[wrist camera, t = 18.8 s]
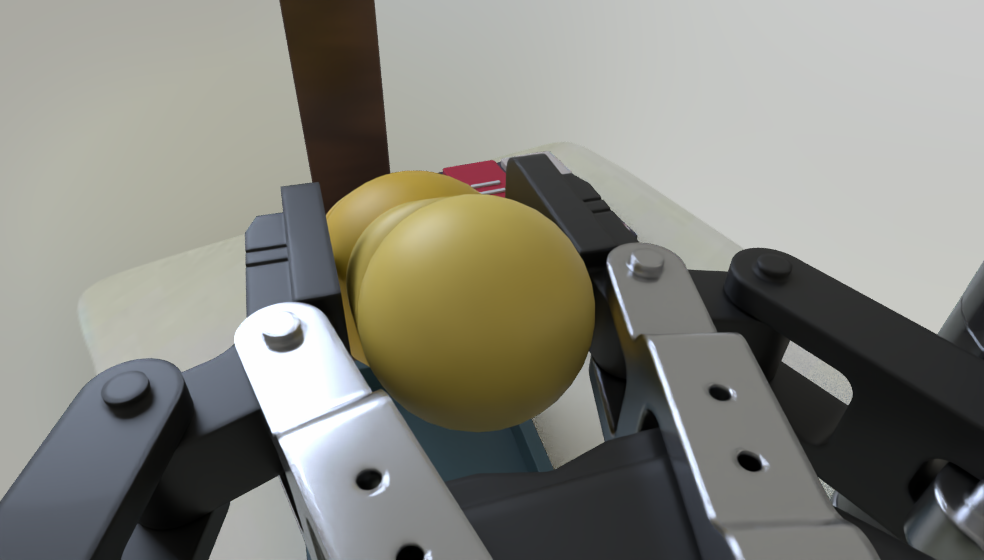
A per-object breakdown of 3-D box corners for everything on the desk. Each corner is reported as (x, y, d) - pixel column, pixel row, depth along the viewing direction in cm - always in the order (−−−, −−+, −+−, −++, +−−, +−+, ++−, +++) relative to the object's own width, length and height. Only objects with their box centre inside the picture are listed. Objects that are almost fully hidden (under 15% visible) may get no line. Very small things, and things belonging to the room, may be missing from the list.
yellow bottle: (323, 314, 26) (307, 194, 25) (440, 298, 27) (428, 183, 26) (331, 568, 7) (271, 145, 7) (698, 482, 8) (677, 115, 8)
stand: (424, 287, 47) (385, -340, 26) (463, 398, 39) (453, -385, 18) (298, 310, 45) (144, -356, 24) (312, 433, 36) (97, -414, 16)
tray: (492, 361, 41) (492, 332, 40) (694, 837, 23) (711, 820, 21) (298, 402, 38) (290, 373, 37) (354, 987, 20) (344, 980, 18)
